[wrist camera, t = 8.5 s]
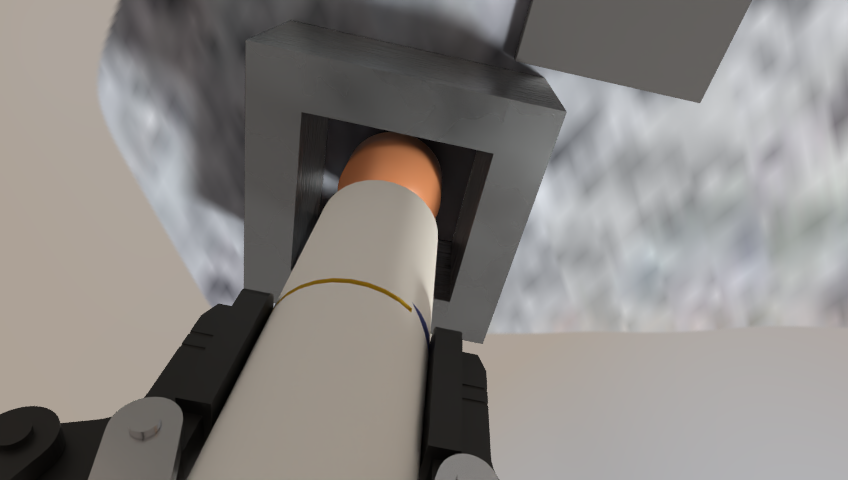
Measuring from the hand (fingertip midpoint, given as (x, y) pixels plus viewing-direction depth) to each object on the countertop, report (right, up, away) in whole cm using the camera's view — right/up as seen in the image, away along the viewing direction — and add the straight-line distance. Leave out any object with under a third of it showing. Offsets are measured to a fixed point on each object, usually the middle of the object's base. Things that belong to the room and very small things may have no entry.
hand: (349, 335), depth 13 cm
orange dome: (+1, +5, +9) cm, 11 cm away
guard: (+1, +6, +10) cm, 12 cm away
